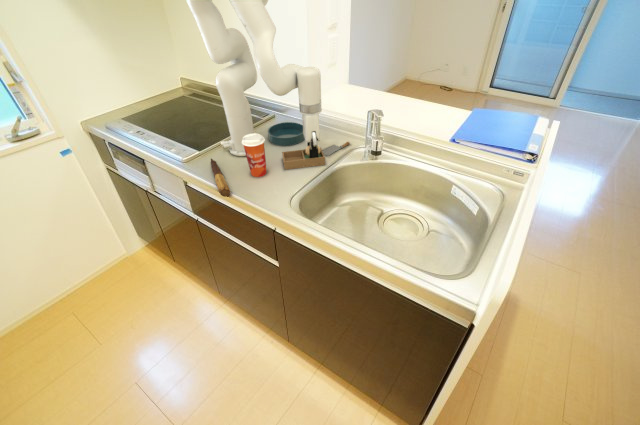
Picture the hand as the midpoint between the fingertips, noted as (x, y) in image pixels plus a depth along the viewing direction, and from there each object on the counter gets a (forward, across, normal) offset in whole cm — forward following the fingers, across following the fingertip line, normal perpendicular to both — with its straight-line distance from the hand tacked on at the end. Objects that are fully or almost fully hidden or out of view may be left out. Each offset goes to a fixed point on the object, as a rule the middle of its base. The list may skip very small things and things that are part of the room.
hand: (313, 154), depth 118 cm
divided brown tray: (+3, 0, -4) cm, 5 cm away
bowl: (+3, -23, -8) cm, 25 cm away
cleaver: (+3, -8, +10) cm, 13 cm away
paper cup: (+3, +4, -21) cm, 21 cm away
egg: (+1, 0, 0) cm, 1 cm away
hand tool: (-2, +16, -30) cm, 33 cm away
